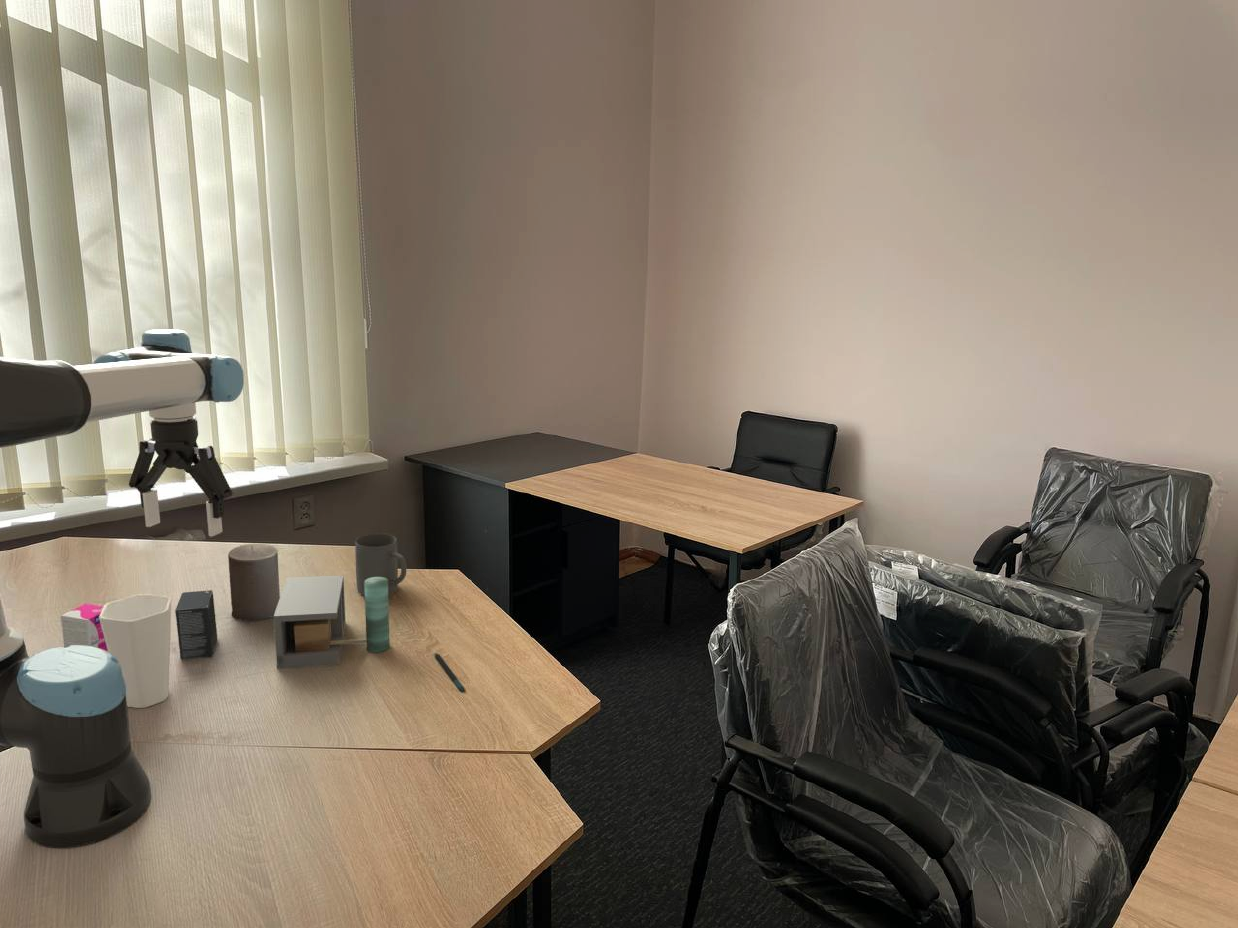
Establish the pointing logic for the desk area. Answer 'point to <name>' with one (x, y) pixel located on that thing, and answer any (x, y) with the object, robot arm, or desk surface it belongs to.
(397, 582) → the mug
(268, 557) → the pillar candle
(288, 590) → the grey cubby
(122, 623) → the cup
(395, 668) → the desk surface
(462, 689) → the pen
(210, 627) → the box
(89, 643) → the supplement box
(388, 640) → the tethered cylinder
